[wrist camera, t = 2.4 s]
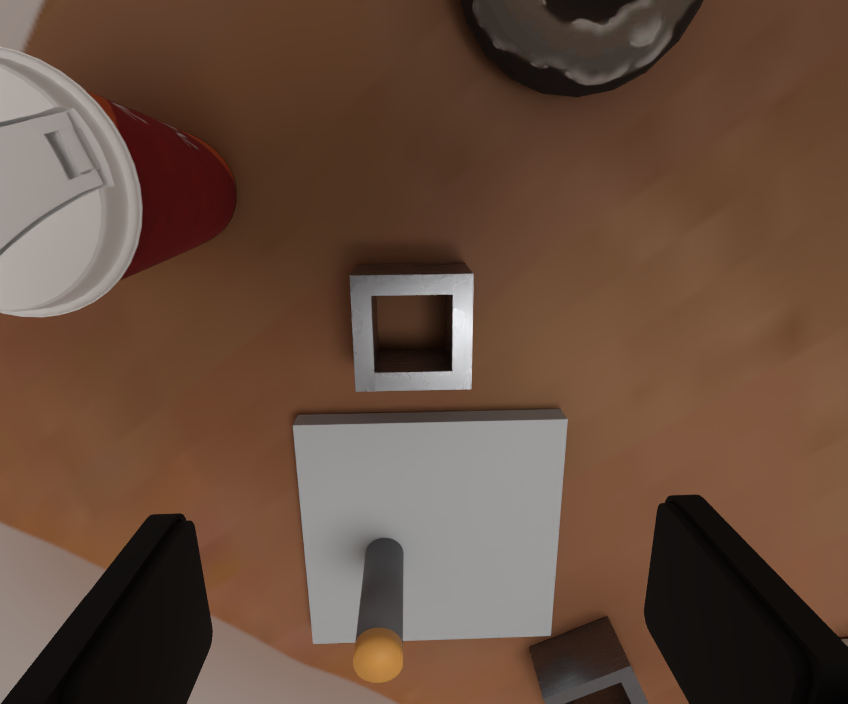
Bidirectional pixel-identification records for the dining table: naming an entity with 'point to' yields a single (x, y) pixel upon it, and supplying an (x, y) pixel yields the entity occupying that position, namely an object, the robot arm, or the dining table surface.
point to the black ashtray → (577, 39)
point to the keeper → (429, 527)
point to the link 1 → (412, 364)
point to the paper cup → (93, 191)
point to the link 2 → (586, 668)
